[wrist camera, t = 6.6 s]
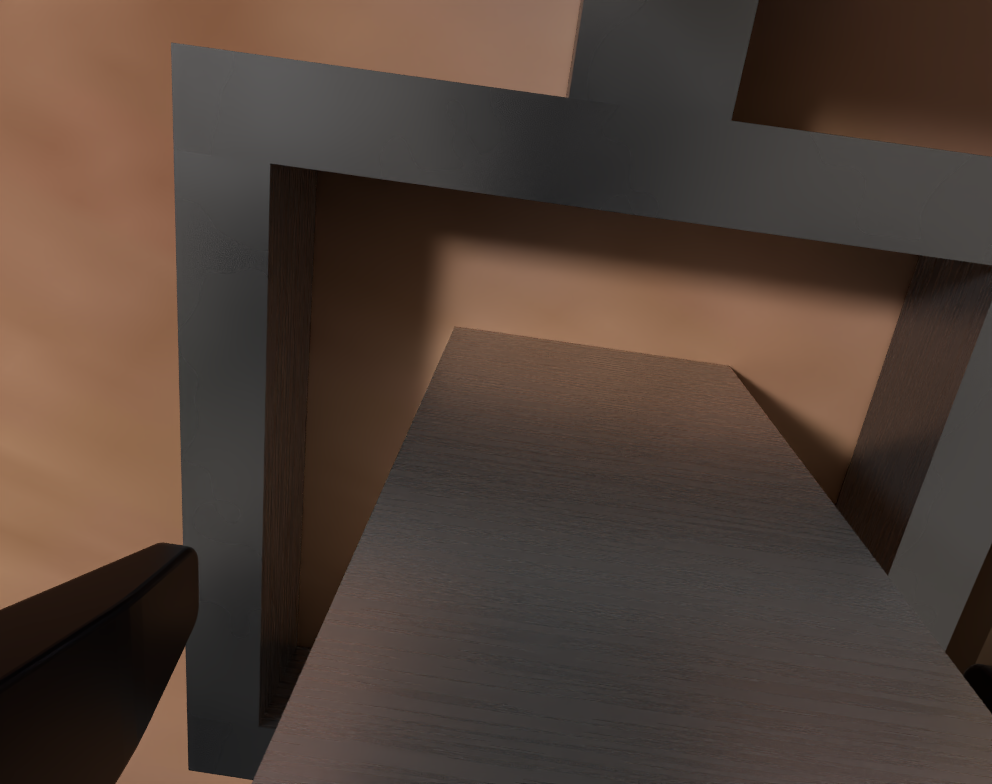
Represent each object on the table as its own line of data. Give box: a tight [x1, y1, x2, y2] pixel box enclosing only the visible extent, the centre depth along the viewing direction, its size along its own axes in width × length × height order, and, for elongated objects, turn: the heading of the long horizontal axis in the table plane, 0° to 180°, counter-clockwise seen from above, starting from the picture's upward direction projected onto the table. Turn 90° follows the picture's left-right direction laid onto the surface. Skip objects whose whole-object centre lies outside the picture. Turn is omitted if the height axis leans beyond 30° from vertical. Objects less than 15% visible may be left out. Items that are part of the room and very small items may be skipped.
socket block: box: [171, 0, 992, 780], centre depth 9 cm, size 20×11×5 cm, turn 172°
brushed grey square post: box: [252, 327, 992, 784], centre depth 8 cm, size 4×4×10 cm
